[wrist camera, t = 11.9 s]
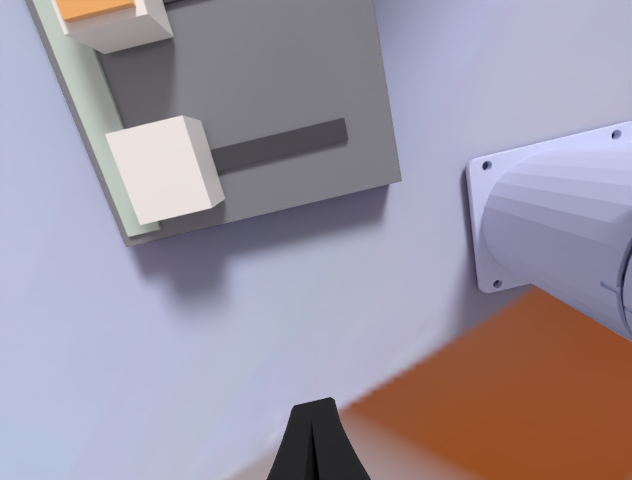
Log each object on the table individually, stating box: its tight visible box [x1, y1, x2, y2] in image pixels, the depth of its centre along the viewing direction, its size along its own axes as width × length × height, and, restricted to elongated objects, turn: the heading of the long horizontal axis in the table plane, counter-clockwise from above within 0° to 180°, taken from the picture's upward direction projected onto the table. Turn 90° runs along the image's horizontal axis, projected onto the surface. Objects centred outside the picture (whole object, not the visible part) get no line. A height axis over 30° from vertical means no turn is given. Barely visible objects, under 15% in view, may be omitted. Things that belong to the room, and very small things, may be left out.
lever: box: [105, 115, 225, 225], centre depth 14 cm, size 3×4×2 cm
